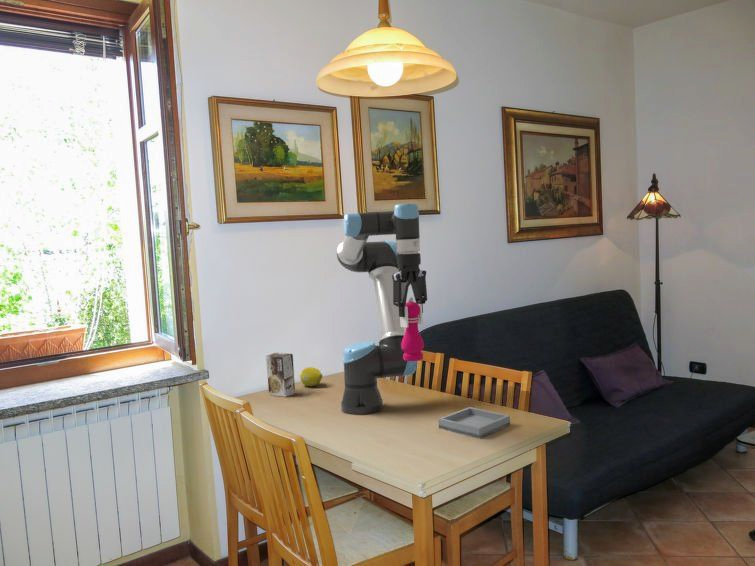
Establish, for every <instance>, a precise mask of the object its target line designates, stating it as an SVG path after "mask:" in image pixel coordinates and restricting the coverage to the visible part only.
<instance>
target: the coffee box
mask: <svg viewBox="0 0 755 566" xmlns="http://www.w3.org/2000/svg"><path fill="white" fill-rule="evenodd" d="M265 360H266V363H265V364H266V373H267V387H268V395H269V396H275V397H276V396H277V397H285V398H287V397H289V396H292V395H294V394H296V387H295V386H296V384H295V382H296V381H295V369H294V355H293V353H286V352H285V353H284V352H274V353H271V354H268V355H266V356H265Z"/></svg>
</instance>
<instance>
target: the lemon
mask: <svg viewBox="0 0 755 566" xmlns="http://www.w3.org/2000/svg"><path fill="white" fill-rule="evenodd" d="M299 375H300V377H299V378H300V381H301V382H302V383H301V384H303V385H304V386H306V387H314V386H317V385H319V383H320V382H321V381H322V379H323V374H322V373H321V370H319V369H318V368H316V367H313V366H312V367H311V366H310V367H309V366H307V367H305V368H304V369H303V370H301V373H300V374H299Z"/></svg>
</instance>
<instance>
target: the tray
mask: <svg viewBox="0 0 755 566" xmlns="http://www.w3.org/2000/svg"><path fill="white" fill-rule="evenodd" d="M510 425H511V416H510V414H509V415H508V414H505V413H504V414H503V413H499V412H496V411H495V412H494V411H489V410H485V409H480V408H475V407H472V406H469V407H466V408H463V409H461V410H458V411H456V412H453V413H450V414H448V415H444V416H443V417H442V416H441V417H440V418H438V429H443V430H446V431H449V432H453V433H456V434H461V435H465V436H469V437H472V438H477V439H482V438H484V437H486V436H488V435H490V434H493V433H495V432H498V431H500V430H503V429H505V428H506V427H508V426H510Z"/></svg>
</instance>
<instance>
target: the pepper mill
mask: <svg viewBox="0 0 755 566" xmlns="http://www.w3.org/2000/svg"><path fill="white" fill-rule="evenodd" d="M405 307H408V327H407V328H406V327H405V329H404V330H405V335H404V337H403V340H402V343H401V348H402V350H403V351H404V352H405V353H404V354H403V359H404V360H405V361H417V362H418V361H422V360H423V359H424V353H423V349H424V348H425V343H424V339H423V338H422V336H421V334H420V332H419V324H418V322H419V317H418V315H419V314H420V306H419V305H418V304H417V303H416V301H414V298H413V297H411V296H409V297H407V301H406V305H405Z"/></svg>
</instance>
